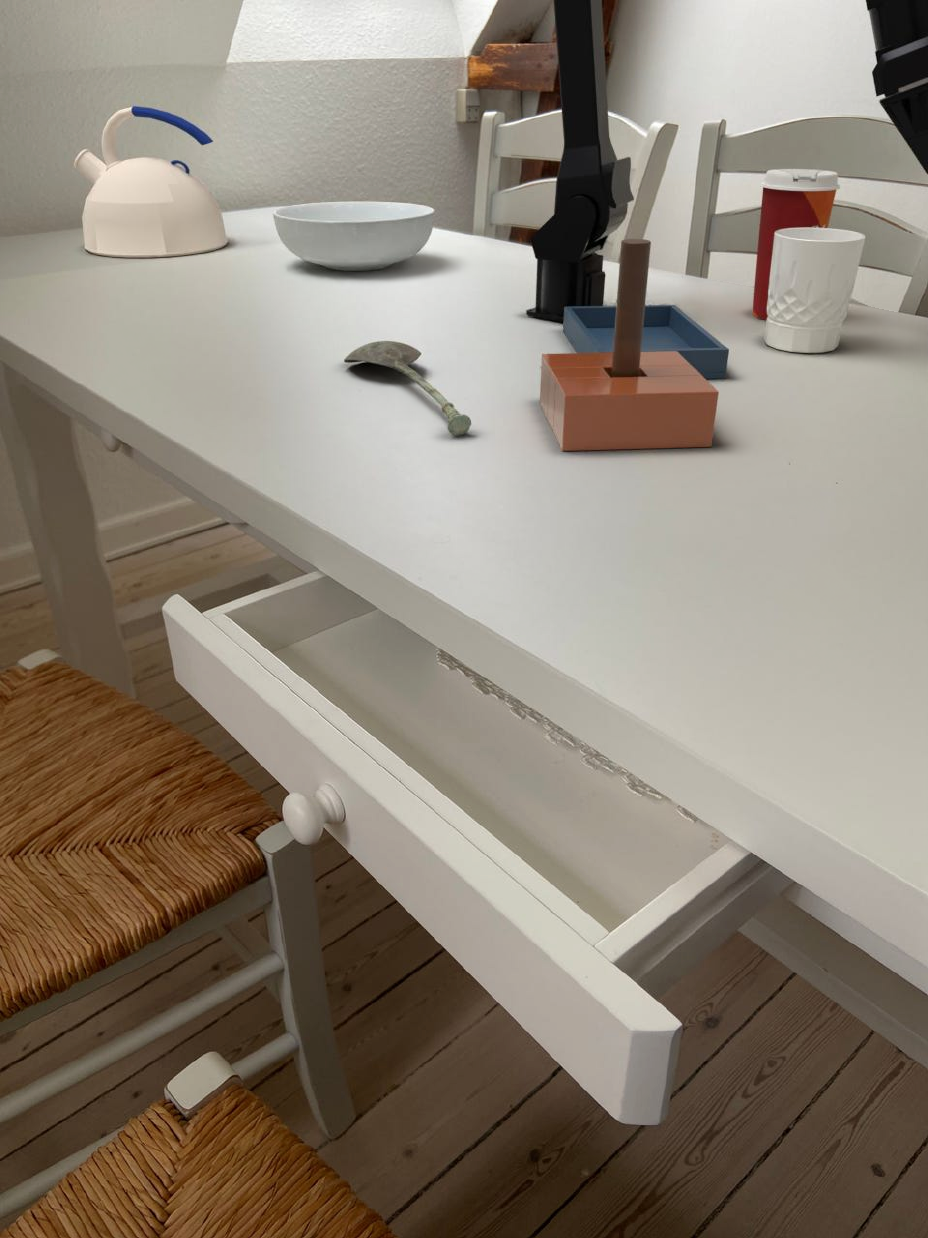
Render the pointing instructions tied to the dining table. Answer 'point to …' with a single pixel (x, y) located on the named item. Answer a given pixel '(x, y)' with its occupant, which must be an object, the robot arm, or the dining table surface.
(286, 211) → the serving bowl
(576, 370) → the stick holder base
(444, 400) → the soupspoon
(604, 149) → the robot arm
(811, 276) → the white cup
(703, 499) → the dining table surface
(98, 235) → the kettle
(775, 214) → the paper cup
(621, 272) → the walnut stick
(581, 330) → the tray
